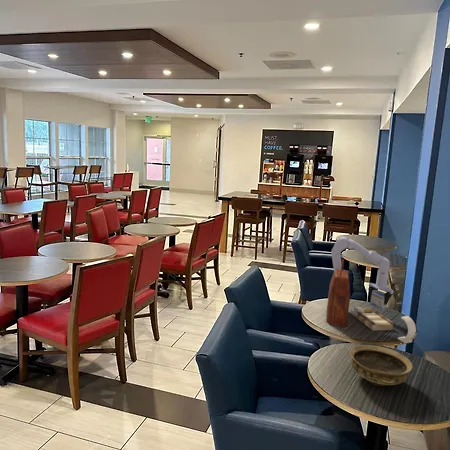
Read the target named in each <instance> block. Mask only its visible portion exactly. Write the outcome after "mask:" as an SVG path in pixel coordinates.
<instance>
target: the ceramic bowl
mask: <svg viewBox="0 0 450 450" xmlns="http://www.w3.org/2000/svg"><path fill="white" fill-rule="evenodd" d="M349 356H350V357H351V359H350V364H351V366H352V369H353V370H354V371H355V373H356V374H358V375H359V376H360V377H362V378H363V379H366V381H367V382H369V383H370V384H371V385H375V386H378V387H385V386H396V385H400V384H402V383H404V382H405V381H406V380H407V379H408V376H409V373H410V372H411V371H412V370H413V363H412V362H411V360H410V359H409V358H407V357H406V356H405V355H403V354H401V353H399V352H397V351H396V350H393V349H390V348H387V347H383V346H379V345H372V344H359V345H355V346H352V347H351V349H350V350H349Z"/></svg>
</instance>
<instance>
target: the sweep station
mask: <svg viewBox="0 0 450 450" xmlns="http://www.w3.org/2000/svg"><path fill="white" fill-rule="evenodd" d="M349 312H350V314H351V315H352V316H354V317H355V318H356V319H357V320H358V321H360V322H361V324H362V323H363V324H364V325H365V326H366V327H368V329H370V330H371V331H393V330H394V322H393V321H392V320H391V319H389V318H388V317H386V316H385V315H383V314H382V313H381V312H379V311H378V310H377V311H376V310H375V312H373V313H361V312H360V311H358V314H357V313H356V312H354V309H350V311H349Z"/></svg>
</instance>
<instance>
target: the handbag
mask: <svg viewBox="0 0 450 450" xmlns="http://www.w3.org/2000/svg"><path fill="white" fill-rule="evenodd" d="M341 264H342V265H341V269H335V270H334V269H333V274H332V276H331V279H330V283H329V290H328V296H327V305H326V321H325V322H326V324H328V325H333V326H340V327H345V328H346V327H347V325H348V316H349V309H350V301H351V290H350V289H351V288H350V277H349V272H348V270H346V269H344V267H345V265H344V264H345V259H344V258H343V259H341Z"/></svg>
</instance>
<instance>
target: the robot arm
mask: <svg viewBox="0 0 450 450" xmlns="http://www.w3.org/2000/svg"><path fill="white" fill-rule="evenodd" d="M346 249H349V250H351V249H353V250H356V251H357V252H359V253H361V254H363V255H364V256H365V257H366V259H367V260H368V261H370V262H371V263H373V264H374V265H376V266H378V269H377V275H376V282H375V283H372V282H369V283H368V287H367V290H368V292H369V294H370V295H369V296H370V297H371V296H372V291H373V290H379V291H381V292H384V295H385V300H384V305H388V302H389V301H390V299H391V297H392V296H393V295H394V289H391V288H389V287H388V286H387V285H388V278H389V271H390V267H391V266H390V265H391V262H390V260H389V259H388V258H387V257H385V256H384V255H381V254H379V253H377V251H376V250H368V249H367V248H365V247H364V246H363V245H361V244H360V243H358V242H356V241H355V240H353V239H351V238H349V237H348V236H346V235H342V236H340V237H339V238H338V239H337V240H336V242H335V243H334V245H333V247H332V248H331V251H330V252H331V253H330V254H331V260H332V266H333V271H334V270H335V269H341V265H342V258H341V252H343V250H346Z"/></svg>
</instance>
